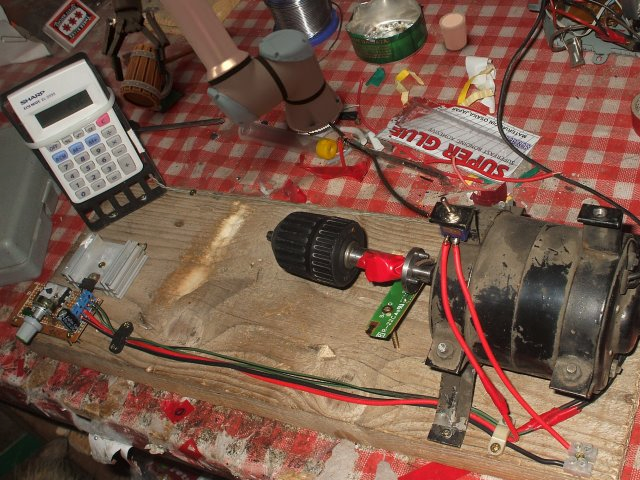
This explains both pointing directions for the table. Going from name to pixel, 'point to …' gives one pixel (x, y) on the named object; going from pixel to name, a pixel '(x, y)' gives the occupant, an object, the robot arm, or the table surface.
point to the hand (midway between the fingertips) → (141, 77)
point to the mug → (144, 79)
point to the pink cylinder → (454, 30)
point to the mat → (169, 99)
